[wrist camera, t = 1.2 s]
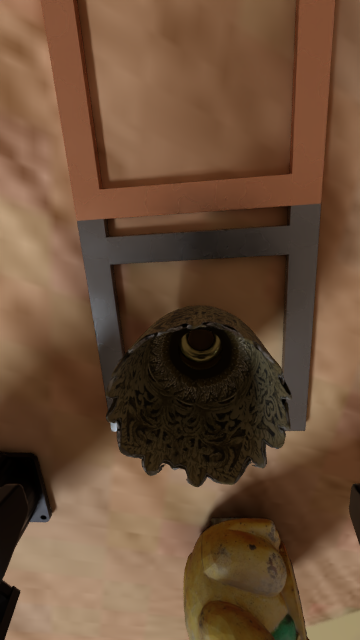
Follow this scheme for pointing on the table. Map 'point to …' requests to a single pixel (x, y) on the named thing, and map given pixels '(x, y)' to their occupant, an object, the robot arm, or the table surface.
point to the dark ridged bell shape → (199, 398)
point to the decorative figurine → (241, 584)
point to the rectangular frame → (202, 196)
